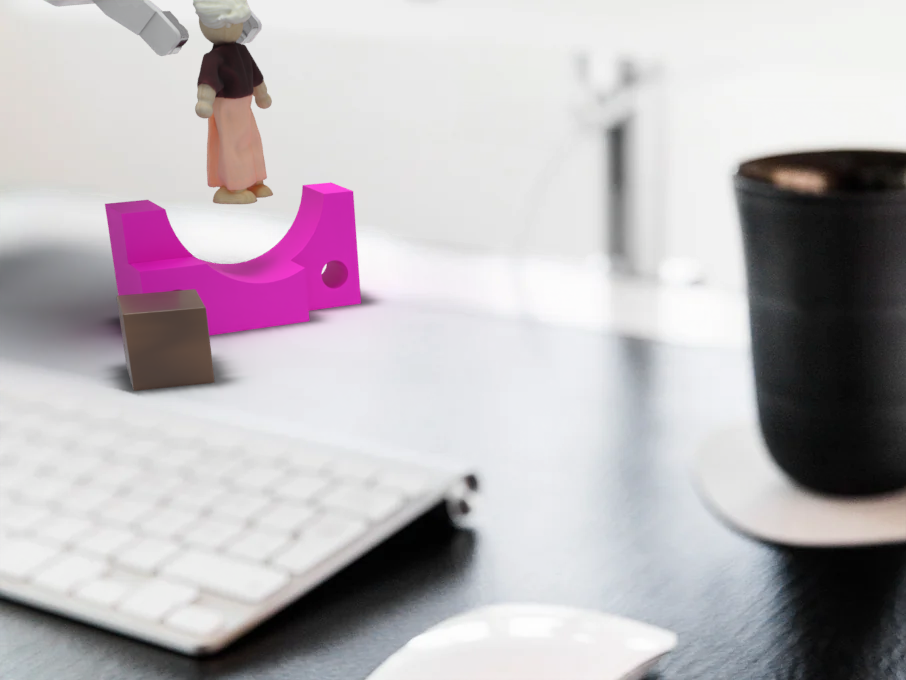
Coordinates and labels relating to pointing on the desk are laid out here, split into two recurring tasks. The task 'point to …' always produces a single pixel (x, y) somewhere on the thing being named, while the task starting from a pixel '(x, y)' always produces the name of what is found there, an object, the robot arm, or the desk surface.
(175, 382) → the walnut cube
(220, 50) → the grandmother figurine
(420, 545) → the desk surface
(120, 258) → the toy block
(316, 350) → the desk surface
